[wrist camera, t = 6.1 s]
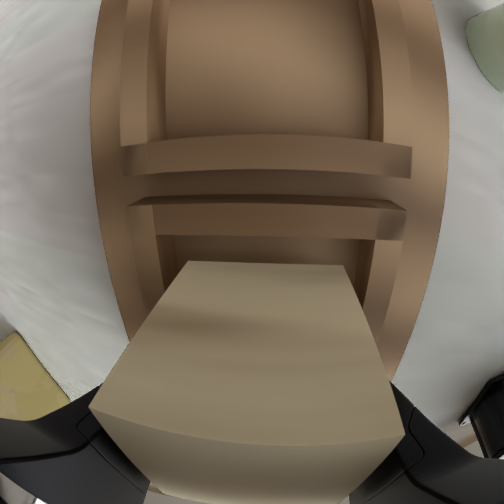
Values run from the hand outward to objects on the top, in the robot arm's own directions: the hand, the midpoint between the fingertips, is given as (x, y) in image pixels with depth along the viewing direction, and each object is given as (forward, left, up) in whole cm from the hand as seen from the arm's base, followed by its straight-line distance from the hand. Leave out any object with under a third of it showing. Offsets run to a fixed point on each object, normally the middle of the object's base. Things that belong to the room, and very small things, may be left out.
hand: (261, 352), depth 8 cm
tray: (+5, 0, -4) cm, 6 cm away
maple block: (0, 0, -1) cm, 1 cm away
